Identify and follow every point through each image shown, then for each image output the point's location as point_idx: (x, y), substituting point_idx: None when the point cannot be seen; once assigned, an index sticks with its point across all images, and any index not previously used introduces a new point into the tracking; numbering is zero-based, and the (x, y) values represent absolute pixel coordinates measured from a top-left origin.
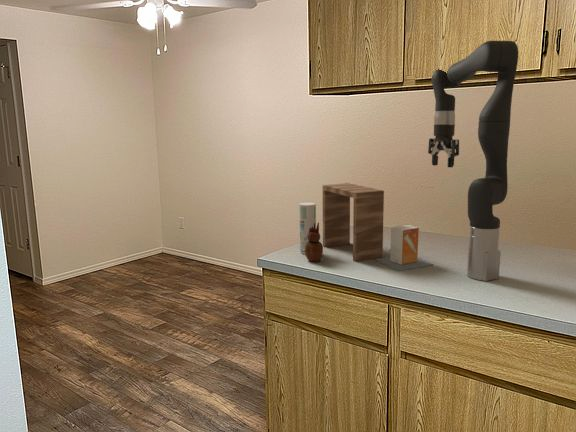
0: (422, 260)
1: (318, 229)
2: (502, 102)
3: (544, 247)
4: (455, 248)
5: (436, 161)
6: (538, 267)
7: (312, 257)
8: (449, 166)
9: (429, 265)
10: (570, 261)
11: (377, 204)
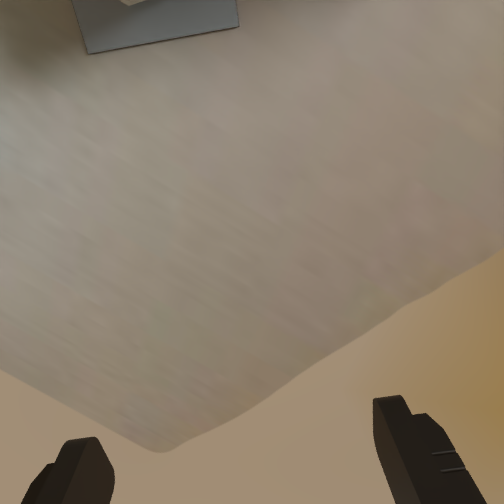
0: (140, 38)
1: None
2: None
3: (197, 430)
4: (261, 242)
5: (392, 480)
6: (33, 327)
7: None
8: (69, 452)
9: (82, 33)
10: (75, 408)
11: None
